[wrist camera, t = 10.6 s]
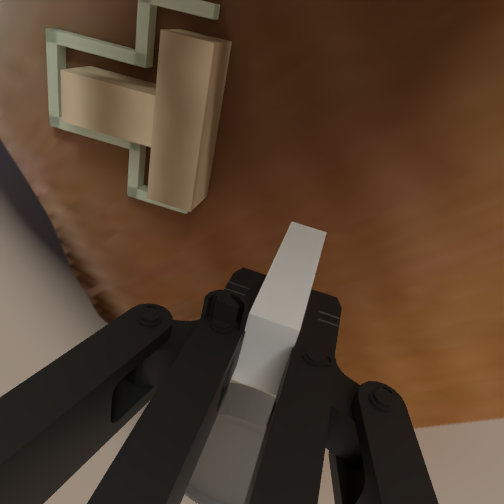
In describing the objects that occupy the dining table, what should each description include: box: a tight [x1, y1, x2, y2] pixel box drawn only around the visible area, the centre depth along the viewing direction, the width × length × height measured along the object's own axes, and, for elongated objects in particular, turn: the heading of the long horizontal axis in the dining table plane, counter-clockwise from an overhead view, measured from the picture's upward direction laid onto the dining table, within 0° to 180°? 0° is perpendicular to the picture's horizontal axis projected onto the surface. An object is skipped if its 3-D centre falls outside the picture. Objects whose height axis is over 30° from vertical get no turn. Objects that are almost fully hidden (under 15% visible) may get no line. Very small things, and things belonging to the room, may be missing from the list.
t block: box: [60, 29, 232, 212], centre depth 35 cm, size 12×13×4 cm
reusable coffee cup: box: [185, 375, 276, 504], centre depth 39 cm, size 13×13×15 cm
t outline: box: [45, 0, 220, 214], centre depth 36 cm, size 14×17×1 cm
